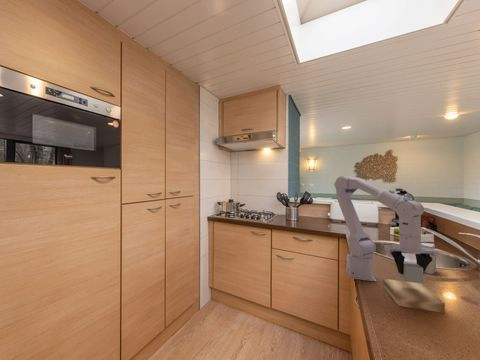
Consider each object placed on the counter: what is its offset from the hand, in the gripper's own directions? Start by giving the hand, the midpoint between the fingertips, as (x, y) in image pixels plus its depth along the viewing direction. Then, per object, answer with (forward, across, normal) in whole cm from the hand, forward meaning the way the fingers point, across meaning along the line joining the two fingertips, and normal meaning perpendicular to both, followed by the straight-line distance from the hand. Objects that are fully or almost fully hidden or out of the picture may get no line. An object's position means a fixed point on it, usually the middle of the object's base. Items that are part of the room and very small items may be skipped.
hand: (410, 274), depth 67 cm
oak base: (+8, 0, 0) cm, 8 cm away
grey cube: (+2, 0, 0) cm, 2 cm away
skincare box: (+9, +19, +27) cm, 34 cm away
